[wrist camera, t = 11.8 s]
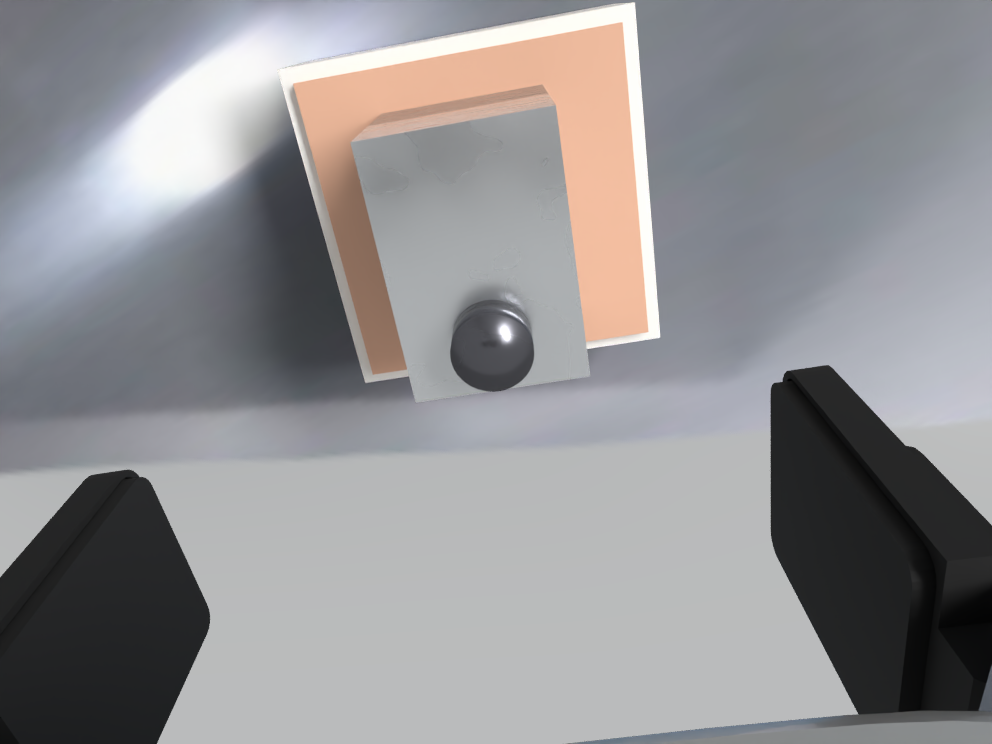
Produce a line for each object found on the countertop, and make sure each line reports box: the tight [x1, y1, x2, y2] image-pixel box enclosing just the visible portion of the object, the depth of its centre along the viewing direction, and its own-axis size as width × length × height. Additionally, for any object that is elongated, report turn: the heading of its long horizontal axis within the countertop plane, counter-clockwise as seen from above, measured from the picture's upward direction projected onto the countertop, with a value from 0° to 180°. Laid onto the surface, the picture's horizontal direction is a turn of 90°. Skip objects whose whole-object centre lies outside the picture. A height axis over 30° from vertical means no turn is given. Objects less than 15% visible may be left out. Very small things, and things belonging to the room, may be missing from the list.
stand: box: [278, 3, 660, 383], centre depth 28 cm, size 12×12×5 cm
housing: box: [350, 84, 590, 403], centre depth 23 cm, size 8×6×7 cm
